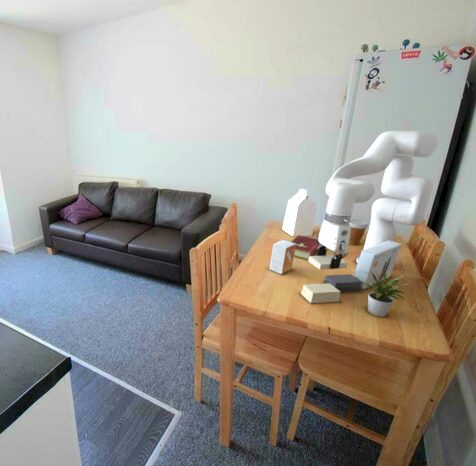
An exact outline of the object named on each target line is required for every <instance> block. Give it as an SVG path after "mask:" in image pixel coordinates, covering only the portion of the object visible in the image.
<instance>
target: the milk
mask: <svg viewBox="0 0 476 466" xmlns="http://www.w3.org/2000/svg"><path fill="white" fill-rule="evenodd" d="M309 192H310V191H309V190H308V189H305V188H300V189H299V190H298V192H297V193H296V194H294V195H293V196H292V197H291V198H289V200H288V201H287V204H286V210H285V214H284V219H283V222H282V228H281V230H283V232H285V233H287V234H288V235H290V236H291V237H296V236H298V235H301V236H306V237H310V236H313V232H314V224H315V217H316V209H317V204H316V202H315V201H314V200H313V199H312V198H311V196H310V193H309Z"/></svg>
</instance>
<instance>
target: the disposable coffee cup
mask: <svg viewBox="0 0 476 466" xmlns="http://www.w3.org/2000/svg"><path fill="white" fill-rule="evenodd" d="M349 225H350V227H351V232H350V240H349V245H351V246H358V245H360V243H361V241H362V239H363V236H364V234H365V232H366V229H367V228H369V225H368V222H366V221H364V220H361V219H350V223H349Z"/></svg>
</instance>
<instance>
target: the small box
mask: <svg viewBox="0 0 476 466" xmlns="http://www.w3.org/2000/svg"><path fill="white" fill-rule="evenodd" d="M295 248H296V244H295V243H292V242H291V241H288V240H285V239H282V240H279V241H277V242H275V243H273V244H272V249H271V250H272V251H271V257H270V263H269V264H270V265H269V270H271V271H273V272H275V273H278V274H281V275H283V274H285V273H286V272H289V271H291V270H292V269H293V263H294V257H295V256H294V253H295Z"/></svg>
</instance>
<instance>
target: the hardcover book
mask: <svg viewBox="0 0 476 466" xmlns="http://www.w3.org/2000/svg"><path fill="white" fill-rule="evenodd" d="M290 242H292V243H295V244H296V248H295V253H294V257H296V258H299V259H303V260H307V261H308V260H309V256H314V255H315V254H316V253H317V252H318V248H317V246H318V244H317V238H316V237H315V238H314V237H310V236H301V235H298V236H294V238H293V239H292V240H290Z"/></svg>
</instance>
